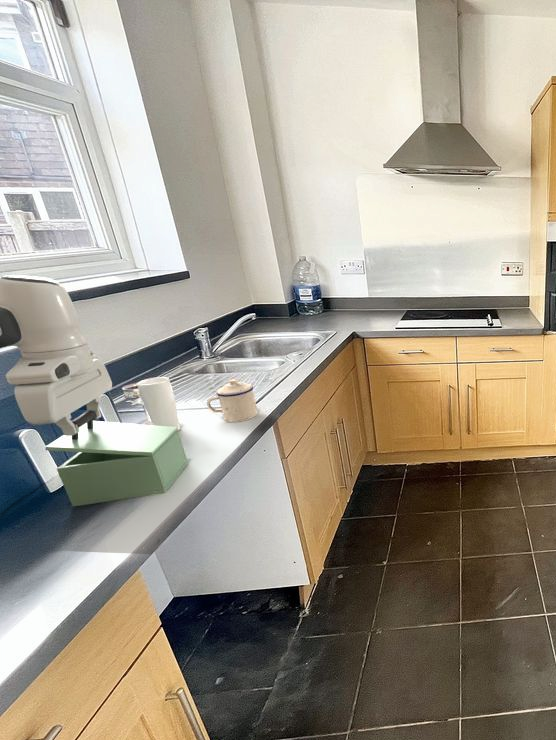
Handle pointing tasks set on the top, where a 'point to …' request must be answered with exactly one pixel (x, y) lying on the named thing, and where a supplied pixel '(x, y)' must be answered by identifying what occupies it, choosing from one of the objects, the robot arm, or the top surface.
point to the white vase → (159, 401)
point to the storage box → (122, 473)
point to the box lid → (112, 437)
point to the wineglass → (135, 397)
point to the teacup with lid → (235, 401)
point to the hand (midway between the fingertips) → (83, 426)
